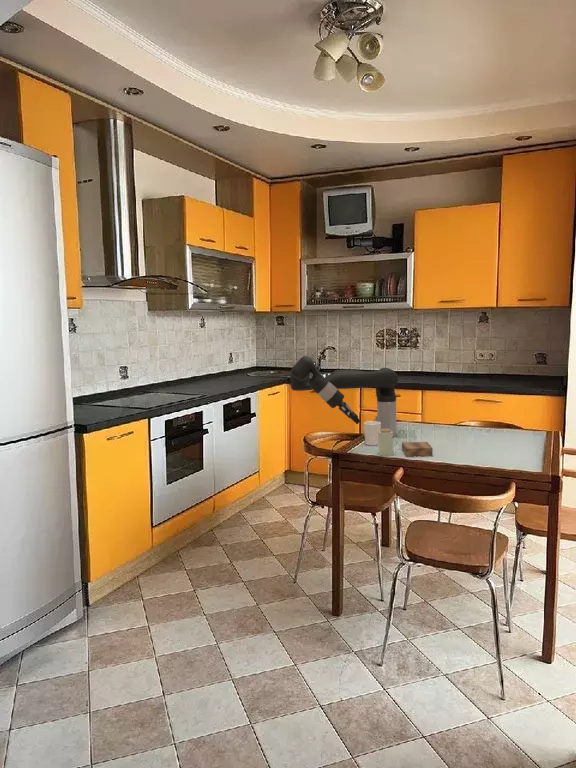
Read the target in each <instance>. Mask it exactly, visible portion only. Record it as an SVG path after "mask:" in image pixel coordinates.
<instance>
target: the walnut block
mask: <svg viewBox="0 0 576 768" xmlns="http://www.w3.org/2000/svg"><path fill="white" fill-rule="evenodd" d="M401 452H402V453H403V452H404V453H403V454H404V456H405V457H406V458H416V457H417V456H421V457H422V458H423V457H425V456H431V457H433V447H432V445H431V444H430V443H429V442H428V441H412V442H411V441H410V442H409V441H408V442H407V441H406V442H405V441H404V442H401ZM414 456H416V457H414ZM421 457H420V458H421ZM417 458H418V457H417Z"/></svg>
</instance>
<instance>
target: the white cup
mask: <svg viewBox="0 0 576 768" xmlns="http://www.w3.org/2000/svg"><path fill="white" fill-rule="evenodd" d="M380 429H381V422H378V421H376V420H368V421H364V422H363V431H364V432H363V433H364V444H365V445H366V444H367V446H378V430H380Z"/></svg>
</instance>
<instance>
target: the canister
mask: <svg viewBox="0 0 576 768" xmlns="http://www.w3.org/2000/svg"><path fill="white" fill-rule="evenodd" d="M393 443H394V437H393V433H392V431H391V430H390V429H380V430H378V445H377V446H378V449H377V450H378V452H379V453H378V455H379V454H380V455H393V456H394V449H393V448H394V447H393V446H394V444H393ZM380 455H379V456H380Z"/></svg>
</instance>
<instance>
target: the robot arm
mask: <svg viewBox="0 0 576 768" xmlns="http://www.w3.org/2000/svg"><path fill="white" fill-rule="evenodd" d="M310 373H312V375H311V376H312V377H311V376H310ZM289 375H290V388H291V390H292V391H295V392H302V391H303V392H304V391H305V392H306V391H314V392H315V393H316V394H317V395H318V396H319V397H320V398H321V399H322V400H323V401H324V402H325V403H326V404H327V405H328V406H329V407H330V408H331V409H335V408H336V407H338V410H339V411H340V412H341V413H342V414H344V416H346V417H348V419H350V420H351V421H353V422H354V423H355V424H356V425H358V424H360V422H361V419H360V418H359V415H358V414H357V413H355V412H354V411H353V409H352V408H351V406H350V405H349V403H347V402H346V401H344V399H345V395H344V393H342V391H340V390H344V389H345V390H348V389H359V388H360V389H361V388H367V387H368V388H370V387H373V388H375V396H376V401H377V402H376V416H375V421H378V422H381V429H390V430H391V431H392V433H393V438H394V437H396V436H397V395H396V391H395V386H396V385H397V383H398V380H399V376H398V374H397V372H396V371H395V370H393V369H392V368H388V367H382V368H379V370H376V371H375V370H374V371H366V370H359V369H336V370H334V371H332V372H331V373H329V374H327V375H326V376H323V374H322V373H321V372H320V371H319V368H317V366H316V364H315V362H314V360H312V358H310V357H309V356H308V355H307V356H306V355H304V356H302V357H301V358H300V359H299V360H298V361H296V363H295V364H294V365H293V366H292V368H291V369H290V374H289ZM310 377H311V378H310Z"/></svg>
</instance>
